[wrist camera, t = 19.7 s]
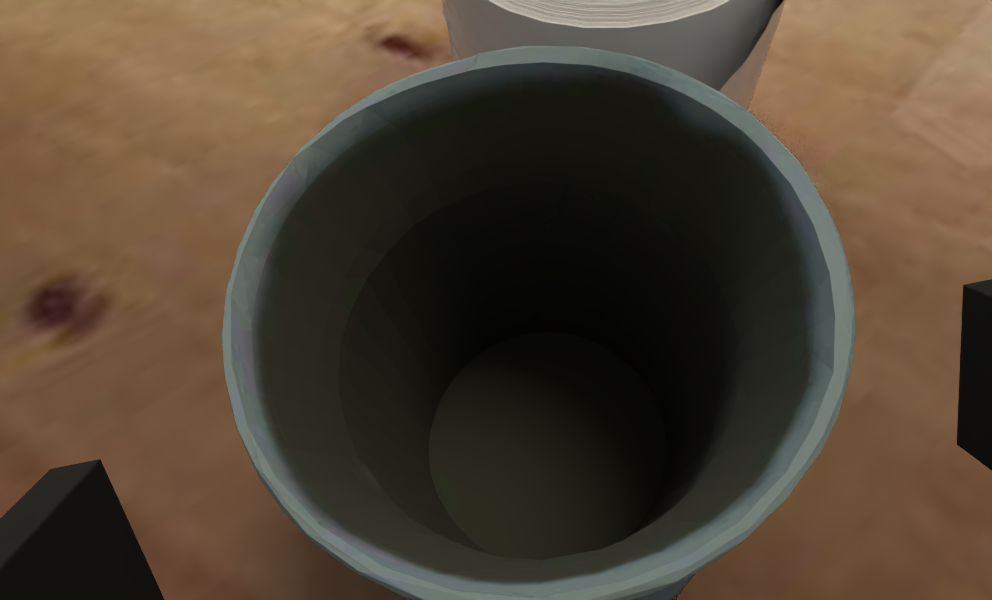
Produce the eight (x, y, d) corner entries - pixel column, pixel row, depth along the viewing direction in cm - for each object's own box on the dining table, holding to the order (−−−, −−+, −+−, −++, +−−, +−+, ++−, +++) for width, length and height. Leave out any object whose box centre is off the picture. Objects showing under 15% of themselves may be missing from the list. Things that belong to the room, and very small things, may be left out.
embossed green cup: (758, 384, 22) (942, 154, 11) (621, 694, 18) (691, 803, 8) (489, 259, 25) (426, -19, 14) (330, 507, 21) (87, 396, 11)
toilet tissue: (590, -6, 31) (598, -263, 22) (818, 132, 26) (947, -120, 17) (418, 135, 28) (347, -90, 19) (638, 313, 24) (681, 129, 15)
